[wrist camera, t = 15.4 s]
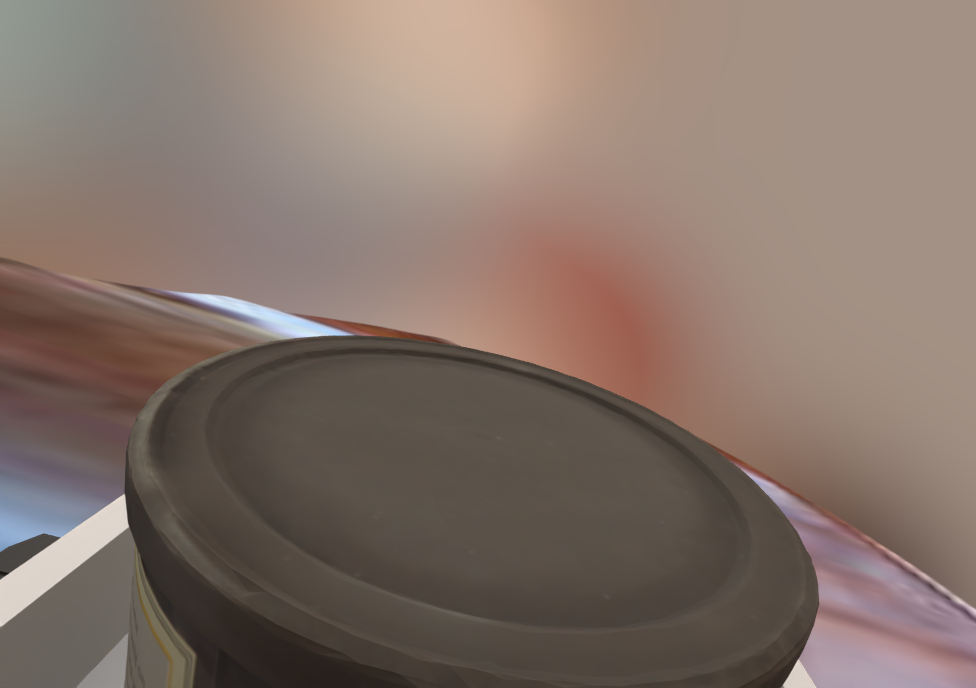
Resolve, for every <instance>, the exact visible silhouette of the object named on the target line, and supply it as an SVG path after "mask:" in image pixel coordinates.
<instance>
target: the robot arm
mask: <svg viewBox="0 0 976 688" xmlns="http://www.w3.org/2000/svg"><path fill="white" fill-rule="evenodd" d="M134 550H135V541H134V539H133V536H132V533H131V530H130V528H129V525H128V520H127V510H126V501H125V494H124V495H122V496H121V497H119V498H118V499H116V500H115V501H114V502H112V503H111V504H109V505H108V506H106V507H105V508H103V509H102V510H101V511H99V512H98V513H96V514H95V515H93V516H92V517H90V518H89V519H87V520H86V521H85V522H83V523H82V524H80V525H79V526H77V527H76V528H74V529H73V530H72V531H70V532H69V533H67V534H66V535H64V536H63V537H61V538H60V537H56V536H52V535H48V534H41V535H38V536H36V537H33V538H31V539H28V540H25V541H23V542H20V543H18V544H15V545H12V546H10V547H8V548H6V549H5V550H3V551H1V552H0V688H76V687H77V686H78V685H79V684H80V683H81V682H82V681H83V679H84V678H85V677H86V676H87V675H88V674H89V673H90V672H91V671H92V670H93V669H94V668H95V667H96V666H97V665H98V664H99V663H100V662H101V661H102V660H103V658H104V657H105V656H106V655H107V654H108V653H109V652H110V651H111V650H112V649H113V648H114V647H115V646H116V645H117V644H118V643H119V642H120V641H121V640H122V639H123V637H124V636H125V635H126V634H127V633H128V632H129V617H130V603H131V589H132V576H133V563H134ZM781 688H816V686H815V684H814V683H813V681H812V680H811V678H810V677H809V675H808V673H807V672H806V670H805V669H804V667H803V666H802V664H801V662H800V661H799V659H798V661H797V662H796V664H795V666H794V668H793V670H792V671H791V673H790V675H789V677H788V678H787V680H786V681H785V683H784V684H783V686H782V687H781Z"/></svg>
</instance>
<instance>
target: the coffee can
mask: <svg viewBox="0 0 976 688" xmlns="http://www.w3.org/2000/svg"><path fill="white" fill-rule="evenodd" d="M125 501H126V510H127V520H128V525H129V528H130V530H131V533H132V536H133V539H134V541H135V550H134V563H133V576H132V589H131V603H130V617H129V632H128V647H127V661H126V672H125V682H124V688H781V687H782V686H783V684H784V683H785V681H786V680H787V678H788V677H789V675H790V673H791V671H792V670H793V668H794V666H795V664H796V662H797V661H798V659H799V657H800V655H801V653H802V651H803V650H804V647H805V645H806V643H807V640H808V638H809V636H810V633H811V631H812V628H813V626H814V623H815V618H816V614H817V610H818V606H819V594H818V582H817V576H816V572H815V569H814V566H813V565H812V559H811V557H810V555H809V554H808V552H807V551H806V549H805V547H804V545H803V543H802V541H801V539H800V537H799V535H798V533H797V531H796V530H795V528H794V527H793V526H792V524H791V523H790V522H789V520H788V519H787V518H786V516H785V515H784V514H783V512H782V511H781V510H780V508H779V507H778V506H777V505H776V504H775V503H774V502H773V500H772V499H771V498H770V497H769V496H768V495H767V494H766V493H765V492H764V491H763V490H762V489H761V488H760V487H759V486H758V485H757V484H756V483H755V482H754V481H753V480H752V479H751V478H750V477H749V476H748V475H747V474H745V473H744V472H743V471H742V470H741V469H740V468H738V467H737V466H736V465H735V464H733V463H732V462H731V461H729V460H728V459H727V458H726V457H724V456H723V455H721V454H720V453H719V452H718V451H716V450H715V449H714V448H712V447H711V446H710V445H708V444H707V443H705V442H704V441H702V440H701V439H699V438H698V437H696V436H695V435H693V434H692V433H690V432H689V431H687V430H685V429H683V428H681V427H679V426H678V425H676V424H674V423H673V422H672V421H670V420H668V419H666V418H664V417H662V416H660V415H659V414H657V413H655V412H654V411H652V410H650V409H648V408H646V407H644V406H642V405H639V404H638V403H635V402H633V401H631V400H628V399H626V398H624V397H621V396H619V395H617V394H614V393H613V392H610V391H608V390H605V389H603V388H600V387H598V386H595V385H593V384H591V383H589V382H586V381H583V380H581V379H578V378H575V377H572V376H568V375H566V374H563V373H560V372H558V371H554V370H551V369H548V368H545V367H542V366H539V365H536V364H533V363H529V362H525V361H521V360H517V359H513V358H510V357H506V356H502V355H498V354H494V353H489V352H484V351H480V350H476V349H471V348H466V347H461V346H455V345H449V344H443V343H435V342H427V341H420V340H414V339H406V338H395V337H379V336H357V335H353V336H318V337H304V338H294V339H285V340H278V341H270V342H265V343H260V344H256V345H251V346H247V347H242V348H238V349H235V350H232V351H227V352H224V353H222V354H219V355H217V356H214V357H211V358H209V359H206V360H204V361H202V362H200V363H198V364H195V365H193V366H191V367H189V368H188V369H186V370H184V371H183V372H181V373H179V374H178V375H176V376H175V377H173V378H172V379H170V380H169V381H167V382H166V383H165V384H164V385H163V386H162V387H161V388H159V389H158V390H157V391H156V392H155V393H154V394H153V395H152V396H151V397H150V398H149V400H148V401H147V403H146V404H145V406H144V407H143V409H142V410H141V411H140V412H139V414H138V416H137V419H136V422H135V424H134V425H133V428H132V431H131V434H130V437H129V442H128V446H127V451H126V470H125Z"/></svg>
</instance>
